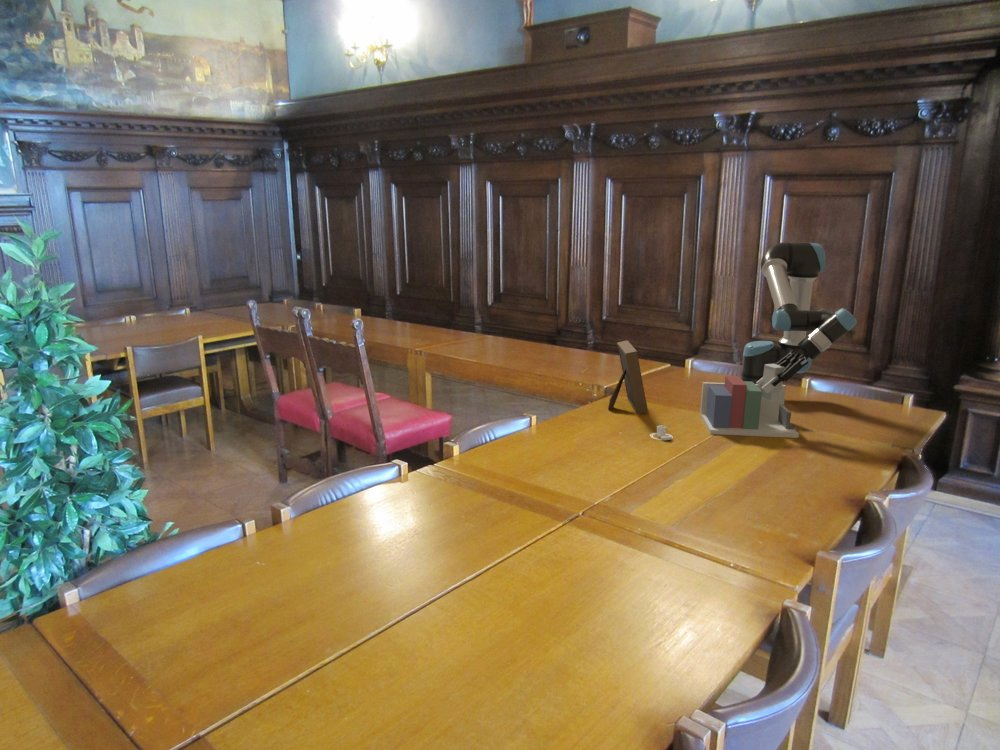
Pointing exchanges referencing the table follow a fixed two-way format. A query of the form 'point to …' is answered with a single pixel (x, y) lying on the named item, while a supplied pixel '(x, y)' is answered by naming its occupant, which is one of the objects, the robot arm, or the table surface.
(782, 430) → the book shelf
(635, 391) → the photo frame
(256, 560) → the table surface
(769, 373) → the skincare box
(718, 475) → the table surface
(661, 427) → the coiled charger cable
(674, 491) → the table surface
